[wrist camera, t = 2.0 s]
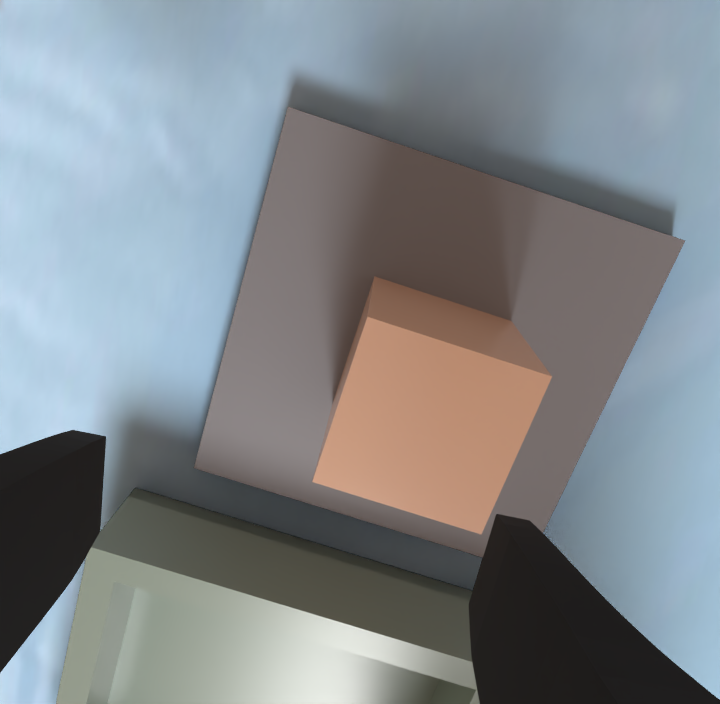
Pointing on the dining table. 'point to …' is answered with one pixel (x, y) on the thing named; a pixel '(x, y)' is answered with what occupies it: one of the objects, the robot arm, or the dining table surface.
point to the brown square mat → (429, 275)
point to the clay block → (430, 407)
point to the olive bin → (255, 619)
